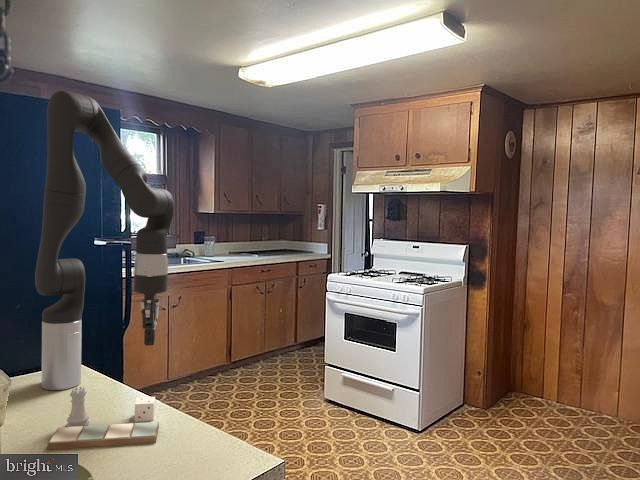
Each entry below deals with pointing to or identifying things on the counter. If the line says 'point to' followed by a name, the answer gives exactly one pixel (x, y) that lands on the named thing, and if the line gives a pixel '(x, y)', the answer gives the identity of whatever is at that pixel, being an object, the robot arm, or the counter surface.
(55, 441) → the board
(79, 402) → the rook chess piece
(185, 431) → the counter surface
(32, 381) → the counter surface
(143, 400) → the die
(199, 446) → the counter surface
